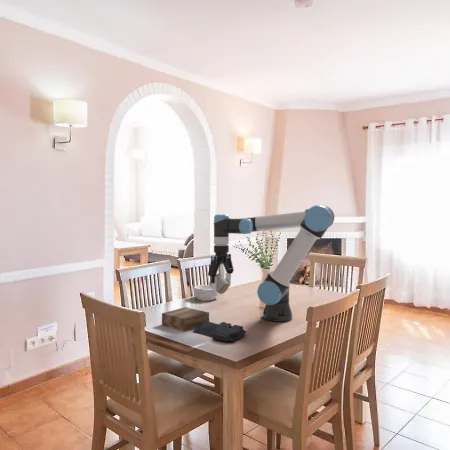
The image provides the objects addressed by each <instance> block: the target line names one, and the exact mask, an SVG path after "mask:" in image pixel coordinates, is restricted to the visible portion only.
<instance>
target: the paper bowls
mask: <svg viewBox="0 0 450 450" xmlns="http://www.w3.org/2000/svg"><path fill="white" fill-rule="evenodd" d="M193 295H194V297H196V299H197V300H198V301H199V300H200V301H204V302H206V301H213V300H214V301H215V299H216V297H218V296H220V294H219V293H218V292H217V291H216V290H213V289H211V286H210V285H209V284H199V285H195V286H194V287H193Z"/></svg>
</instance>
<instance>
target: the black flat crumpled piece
mask: <svg viewBox="0 0 450 450" xmlns="http://www.w3.org/2000/svg"><path fill="white" fill-rule="evenodd" d="M246 333H247V330H244V326H243V325H238V324H234V325H233V324H232V323H228V322H225V321H222V322H220V323H216V322H211V321H209V322H204V323H203V324H201V325H200V326H199V327H198V328H195V329H193V334H198V335H201V336H206V337H209V338H212V339H213V340H218V341H223V342H234V341H237V340H239V339H241V338H243V337H244V335H245V334H246Z"/></svg>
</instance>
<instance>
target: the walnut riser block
mask: <svg viewBox="0 0 450 450" xmlns="http://www.w3.org/2000/svg"><path fill="white" fill-rule="evenodd" d="M204 322H210V312H208V311H204V310H199V309H196V308H195V309H194V308H191V307H187V306H185V307H180V308H177V309H173V310H169V311H166V312H162V313H161V326H165V327H169V328H172V329H175V330H178V331H182V332H188V331H192V330H195V329H196V328H198V327H199V326H200V325H201V324H203V323H204Z"/></svg>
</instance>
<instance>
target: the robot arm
mask: <svg viewBox="0 0 450 450" xmlns="http://www.w3.org/2000/svg"><path fill="white" fill-rule="evenodd" d="M334 221H335V213H334V211H333V209H332V208H330V207H329V206H327V205H323V204H316V205H312V206H311V207H310V208H306V209H305V210H304V211H298V212H289V213H288V212H287V213H280V214H271V215H270V214H269V215H263V216H262V215H261V216H253V217H246V218H245V217H243V218H230V216H229V214H215V215H214V216H213V244H214V245H213V253H214V254H215V255H211V256H210V263H209V268H208V272H207V276H208V277H210V280H211V289H213V290H217V277H215V276H216V274H218V270H219V268H220V266H221V265H222V264H223V267H224V269H225V272H226V273H225V279H226V280H227V281H228V282H229V283H230V285H229V287H231V285H232V284H231V283H232V282H231V281H232V280H231V279H232V274H233V273H234V271H235V270H234V266H233V262H232V254H231V253H229V250H230V247H229V246H230V245H229V244H230V243H229V242H230V238H229V237H230V236H229V235H230V234H235V235H236V234H237V235H241V234H242V235H247V234H248V235H249V234H251V233H254V232H255V233H256V232H262V231H263V232H264V231H273V230H283V229H295V228H300V230H299V232H297V234H296V236H295V238H294V239H293V240H292V242H291V244H290V245H289V246H288V249H287V250H286V252H285V253H284V255H283V256H282V258H281V259H280V261H279V263H278V264H277V266H276V267H275V269H274V270H271V271H269V272H268V273H267V274H266V277H265V278H264V280H263V281H262V282H260V284H259V285H258V287H257V291H256V293H257V296H258V299H259V300H260V302H262V304H265V306H264V307H263V312H262V318H263V319H265V320H268V321H270V322H288V321H291V320H293V312H292V309H291V305H290V286H291V284H290V281H291V279H292V277H293V276H294V274H295V273H296V271H297V270H298V268H299V266H300V265H301V264H302V262H303V260H304V259H305V257H306V256H307V254H308V253H309V252H310V249H311V248H312V247H313V245H314V244H315V242H316V241H317V240H321V239H322V237H323V236H324V235H325V233H326V232H327V230H328V228H330V227H331V226H332V225H333V223H334Z"/></svg>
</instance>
